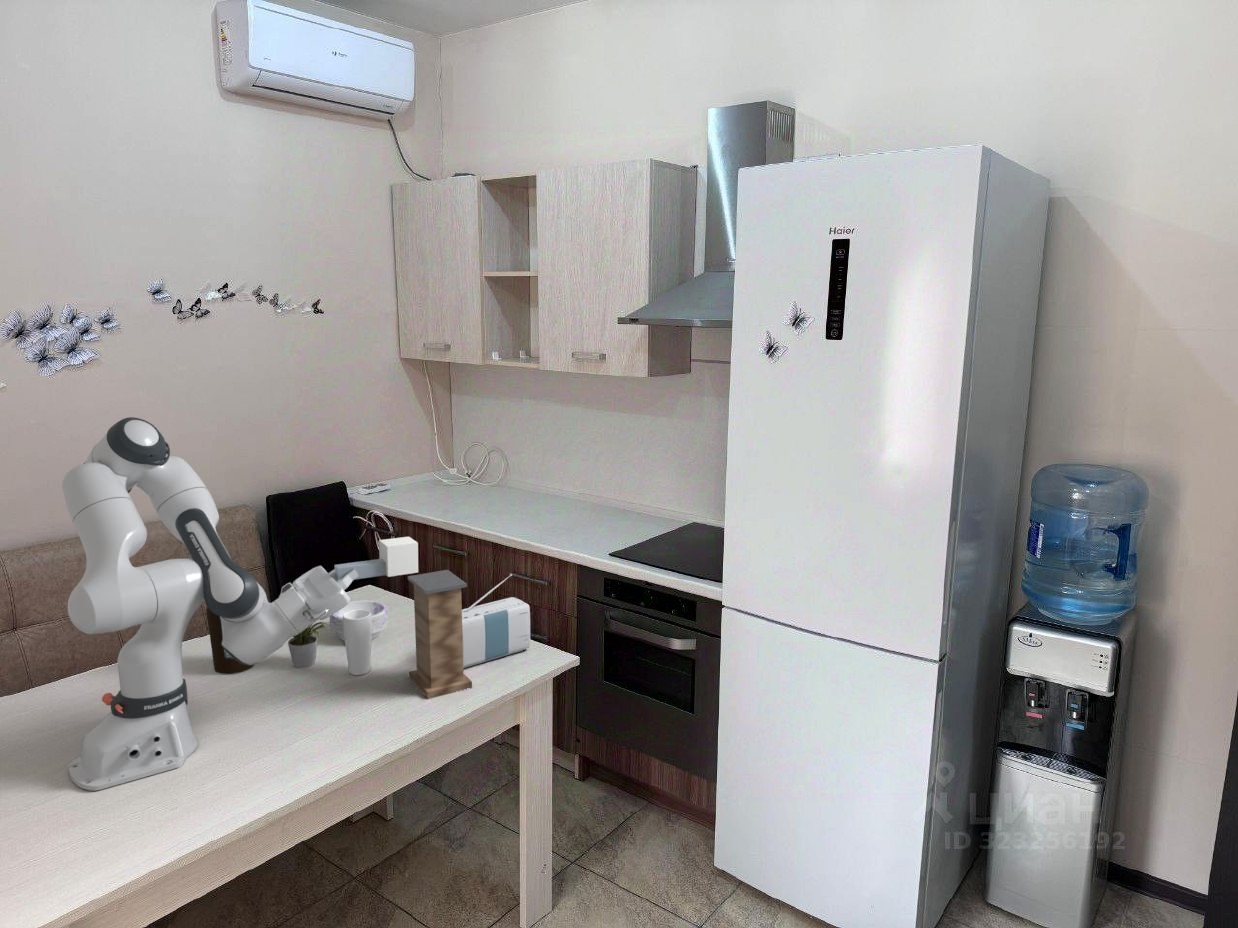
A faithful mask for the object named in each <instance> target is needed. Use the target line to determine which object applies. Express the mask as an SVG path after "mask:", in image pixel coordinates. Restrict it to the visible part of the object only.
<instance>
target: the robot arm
mask: <svg viewBox="0 0 1238 928" xmlns="http://www.w3.org/2000/svg"><path fill="white" fill-rule="evenodd" d="M170 448H171V447H170V445H169V444H168V443H167V442H166V439H165V437H164V436H163V434H162V432H160V431H159V429H158V428H157V427H155V425H154V424H152V423H151V422H149V421H147V420H145V419H142V418H139V417H133V416H129V417H125V418H123V419H120V420H119V421H117V422H115V423H114V424H113V425H112V426H111V427H109V428H108V430H107V433H105V434H104V436H102V438H101V439H100V440H99V441H98V442H97V443H96V444H95V445H94V446H93V447H92V449H91V451H90V453H89V454H88V456H87V458H86V460H85V461H84V462H83V463H82V464H78V465H77V466H75V467H73V468H71V469H70V470H69V471H68V472H67V473H65V475H64V476H63V479H62V482H61V484H62V485H61V486H62V492H63V493H62V494H63V496H64V502H65V505H66V508H67V510H68V514H69V517H70V519H71V520H72V523H73V525H74V527H75V529H76V532H77V534H78V537H79V539H80V541H81V544H82V547H83V550H84V553H85V557H86V565H85V566H86V567H85V571H84V574H83V576H82V578H81V580H80V581H79V582H78V583H77V585H76V586H74V588H73V590H71V592H70V595H69V598H68V601H67V614H68V617H69V619H70V621H71V623H72V624H73V625H74V626H75V627H76V628H77V629H78V630H79V631H81V632H82V633H84V634H86V635H96V634H97V635H98V634H105V633H106V634H107V633H114V632H115V633H116V632H119V631H122V630H126V629H128V628H132V627H135V626H138V625H140V628H139V629H138V630H137V632H136V633H135V635H134V636H133V637H131V639H129V640H128V641H127V642H126V643H125V644H123V646H122V648H121V649H120V650H119V653H118V656H117V670H118V678H119V679H118V680H119V681H118V682H119V688H120V690H119V691H118V692H117V694H116V695H113V693H111V692H106V693H104V694H103V695H102V697H101V701H102V703H104V704H105V705H106V706H110V713H109V714H107V716H105V717H104V718H103V719H102V720H101V721H100V722H99V723H98V724H97V725H95V727H94V728H93V729H91V730H90V731H89V732H88V733H87V734H85V737H84V739H83V741H82V744H81V752H80V756H79V757H76V758H75V759H72V760H71V762H70V763H69V766H68V775H69V778H70V779H71V781H72V783H74V784H75V785H76V786H77V787H78V788H80V789H84V790H88V791H95V792H97V791H101V790H104V789H108V788H110V787H111V788H112V787H115V786H118V785H121V784H125V783H129V782H131V781H135V780H139V779H143V778H145V777H149V776H152V775H157V774H160V773H164V772H167V771H171V770H175V769H177V768H179V767H181V766H182V765H183V763H184V762H185V759H186V758H187V757H188V756H190V755H191V754H192V753H193V752H194V751H196V749H197V747H198V744H199V740H198V737H197V736H196V734H195V731H194V729H193V726H192V723H191V719H190V716H189V715H190V714H189V712H188V701H189V699H188V698H189V695H188V687H187V682H186V679H185V678H184V675H183V658H182V657H183V656H182V655H183V653H182V651H183V649H182V648H183V641H184V637H185V634H186V633H185V632H186V631H187V628H188V626H189V623H190V622H191V619H192V617H193V616H194V615H195V612H197V610H198V609H199V608H200V606H201V605H203V603H204V602H205V605H206V608H207V607H208V608H209V609H210V610H211V611H212V612H213V613H214V614H216V615H218V616H220V618H221V623H222V630H223V641H222V646H223V648H224V650H225V651H226V652H227V653H228V654H229V655H230V656H232V657H233V658H234V659H235V660H237V661H238V662H239V663H241V664H244V665H253V664H254V665H255V664H257V663H259V662H261V661H263V660H265V659H266V658H268V657H269V656H271V655H272V654H273V653H275V652H277V651H278V650H279V649H280V648H283V645H285V644H286V642H288V641H289V640H290V639H292V638H294V637H293V636H296V635H298V634H299V633H301V632H302V631H304V630H305V629H306V628H308V627H309V626H310V625H312V626H313V625H314V624H315V622H316V623H317V621H318V620H320V621H323V620H326V619H328V618H330V616H331V615H333V614H334V613H336V612H338V611H339V610H341V609H342V608H344V607H345V606H346V605H347V604H348V603H349V602H350V601H351V598H350V596H349V595H348V593H347V592H346V591H345V590H347V589H348V587H349V586H350V585H351V584H352V582H354V579H355V578H357V577H358V573H357V572H356V570H354V569H351V570H350V571H348V572H347V574H346V575H345V576H344V577H343V578H342V579H339V580H338V581H337V580H336V579H335V569H332V570H331V571H329V572H327V570H326V569H325V568H324V567H323V566H322V565H318V566H315V567H312V568H311V569H310V570H308V571H306V572H305V573H303V574H301V576H299V577H298V578H296V579H295V580H294V581H293V582H292V583H291V582H288V583H286V584H285V585H283V586H282V587H281V590H280V594H279V595H278V598H276V599H275V600H273V601H272V602H269V600H268V598H267V597H268V596H267V594H266V591H265V590H264V588H263V587H262V586H261V585H260V584H259V583H258V581H257V580H256V579H255V577H254V576H253V575H252V574H251V573H250V572H249V571H248V570H246V569H245V568H243V567H241V566H239V565H238V564H237V563H236V562H234V560H233V558H231V556H230V554H229V552H228V550H227V548H226V547H225V545H224V543H223V542H222V540H221V538H220V536H219V534H218V531H217V529H216V527H217V525H218V523H219V521H220V515H219V512H218V511H219V510H218V508H217V505H216V502H215V500H214V499H213V496H212V494H211V492H210V490H209V489H208V488H207V486H206V485H205V483H204V481H203V480H202V478H200V476H199V474H198V473H197V472H196V471H195V470H194V469H193V468H192V466H191V465H190V464H189V463H188V462H187V461H186V460H185V459H183V458H182V457H180V456H177V455H171V449H170ZM135 486H136V487H137V488H138V489H140V490H142V491H143V492H144V493H145V494H146V495H147V496H148V497H149V499H150V501H151V504H152V506H153V508H154V509H155V512H156V514H157V515H158V517H159V519H160V521H162V523H163V524H164V526H165V527H166V528H167V530H169V532H170V533H171V534H172V535H173V536H174V537H175V538H176V539H177V540H179V541H180V542H181V543H183V544H184V546H185V548H186V549H187V551H188V553H189V554H190V556H191V558H187V557H186V558H184V557H183V558H170V559H166V560H162V561H157V562H153V563H148V564H145V565H142V566H133V565H132V563H131V561H130V558H132V557H133V556H135V555H136V554H137V553H138V552H139V551H140V550H141V549H142V548H143V547H144V545H145V544H146V542H147V541H146V540H147V539H148V538H147V537H148V529H147V527H146V525H145V524H144V521H143V520H142V516H140V515H141V514H139V511H138V509H137V507H136V505H135V503H134V501H133V499H132V497H131V495H130V492H131V491H132V490H133V488H134V487H135ZM355 580H356V579H355Z"/></svg>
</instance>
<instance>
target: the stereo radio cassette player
mask: <svg viewBox="0 0 1238 928" xmlns="http://www.w3.org/2000/svg"><path fill="white" fill-rule="evenodd" d="M512 576H513V574H512V573H510V574H509V576H508V577H506V578H504V579H503V580H502V581H501V582H500V583H498V584H497V585H495V586H494V587H493V588H492V589H490V590H489V591H488V592H487V593H485V594H484V595H483V596H482V597H480V598H479V599H478V600H476V601H475V602H474V603H473V604H471V606H468V608H466V607H465V608H463V609H462V637H463V670H464V669H466V668H469V667H473V666H476V665H480V664H482V663H486V662H489V661H492V660H495V659H499V658H503V657H506V656H509V655H513V654H516V653H519V652H524V651H525V650H527V649H528V648H530V645H531V611H530V609H531V607H530V605H529V604H528V603H526V602H524V601H523V600H521V599H519V598H517V597H514V596H513V597H512V596H511V597H507V598H503V599H498V600H495V601H491V602H488V603H483V604H479V605H477V604H478V603H480V602H481V601H483V599H484V598H486V597H487V596H488V595H490V594H491V593H492V592H493V591H494V590H495V589H497V588H499V586H500V585H502V584H503V583H504V582H505V581H506V580H507V579H508V578H510V577H512ZM523 650H524V651H523Z"/></svg>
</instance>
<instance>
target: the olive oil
mask: <svg viewBox="0 0 1238 928" xmlns="http://www.w3.org/2000/svg"><path fill="white" fill-rule="evenodd" d="M206 618H207V619H206V620H207V626H208V631H209V633H208V634H209V640H210V646H211V655H212V664H213V670H214V671H215V673H218V674H223V675H234V674H240V673H243V672H245V671H247V670H248V671H249V670H250V669H252V668H253V667H254V665H255V664H253V665H244V664H241V663H239V662H238V661H237V660H235V659H234V658H233V657H232V656H230V655H229V654H228V653H227V652H226V651H225V650H224V648H223V646H222V641H223V630H222V623H221V618H220V616H218V615H216V614H214V613H213V612H212V611H211V610H210V609H209V608H208V607H207V606H206Z"/></svg>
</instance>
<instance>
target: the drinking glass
mask: <svg viewBox="0 0 1238 928" xmlns="http://www.w3.org/2000/svg"><path fill="white" fill-rule="evenodd" d="M343 633H344V640H345V641H344V640H343V641H344V645H345V651H346V652H345V653H346V659H347V669H348V673H349V674H351V675H352V676H361V675H366V674H368V673H369V672H370V671H371V668H372V666H371V665H372V664H371V663H372V661H371V660H372V659H371V658H372V640H373V639H372V619H371V612H370V611H367V610H352V611H349V612H346V613H345V614H344V615H343Z"/></svg>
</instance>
